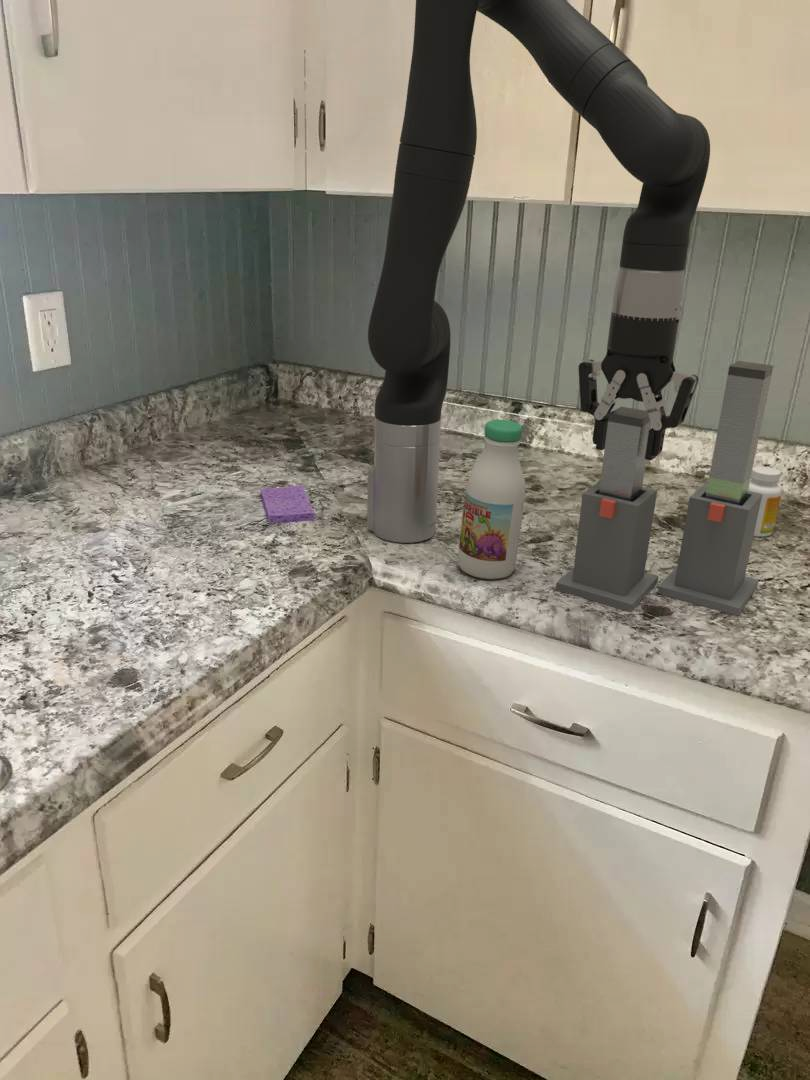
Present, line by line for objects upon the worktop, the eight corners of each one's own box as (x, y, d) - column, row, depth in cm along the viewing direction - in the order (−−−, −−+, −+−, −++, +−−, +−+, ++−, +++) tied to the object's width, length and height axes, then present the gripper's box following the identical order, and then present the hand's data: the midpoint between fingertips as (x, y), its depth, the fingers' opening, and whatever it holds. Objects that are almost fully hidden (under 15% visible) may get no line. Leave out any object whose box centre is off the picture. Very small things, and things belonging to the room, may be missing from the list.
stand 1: (555, 589, 107) (566, 494, 102) (586, 563, 115) (597, 473, 110) (631, 611, 102) (646, 512, 97) (657, 582, 110) (673, 489, 105)
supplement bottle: (770, 526, 129) (783, 466, 126) (774, 539, 125) (788, 477, 121) (733, 522, 131) (745, 462, 127) (736, 534, 126) (748, 473, 122)
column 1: (587, 579, 108) (609, 413, 99) (599, 568, 111) (621, 406, 102) (617, 587, 106) (642, 419, 97) (628, 576, 109) (653, 412, 100)
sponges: (268, 526, 125) (268, 514, 124) (260, 497, 136) (259, 486, 135) (315, 523, 126) (315, 512, 126) (303, 495, 138) (303, 484, 137)
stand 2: (657, 593, 107) (673, 497, 102) (681, 566, 115) (697, 476, 110) (738, 615, 102) (759, 516, 97) (757, 586, 110) (777, 493, 105)
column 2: (697, 540, 105) (729, 366, 96) (706, 530, 108) (737, 360, 99) (730, 547, 103) (765, 371, 94) (738, 537, 106) (773, 365, 97)
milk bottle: (480, 549, 117) (497, 411, 109) (525, 569, 113) (547, 426, 104) (445, 565, 112) (460, 421, 103) (491, 587, 107) (511, 438, 99)
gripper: (573, 307, 95) (558, 449, 102) (700, 321, 88) (675, 473, 95) (598, 300, 101) (582, 436, 108) (719, 313, 94) (694, 457, 101)
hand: (625, 452), depth 101 cm, fingers open, 5 cm apart
